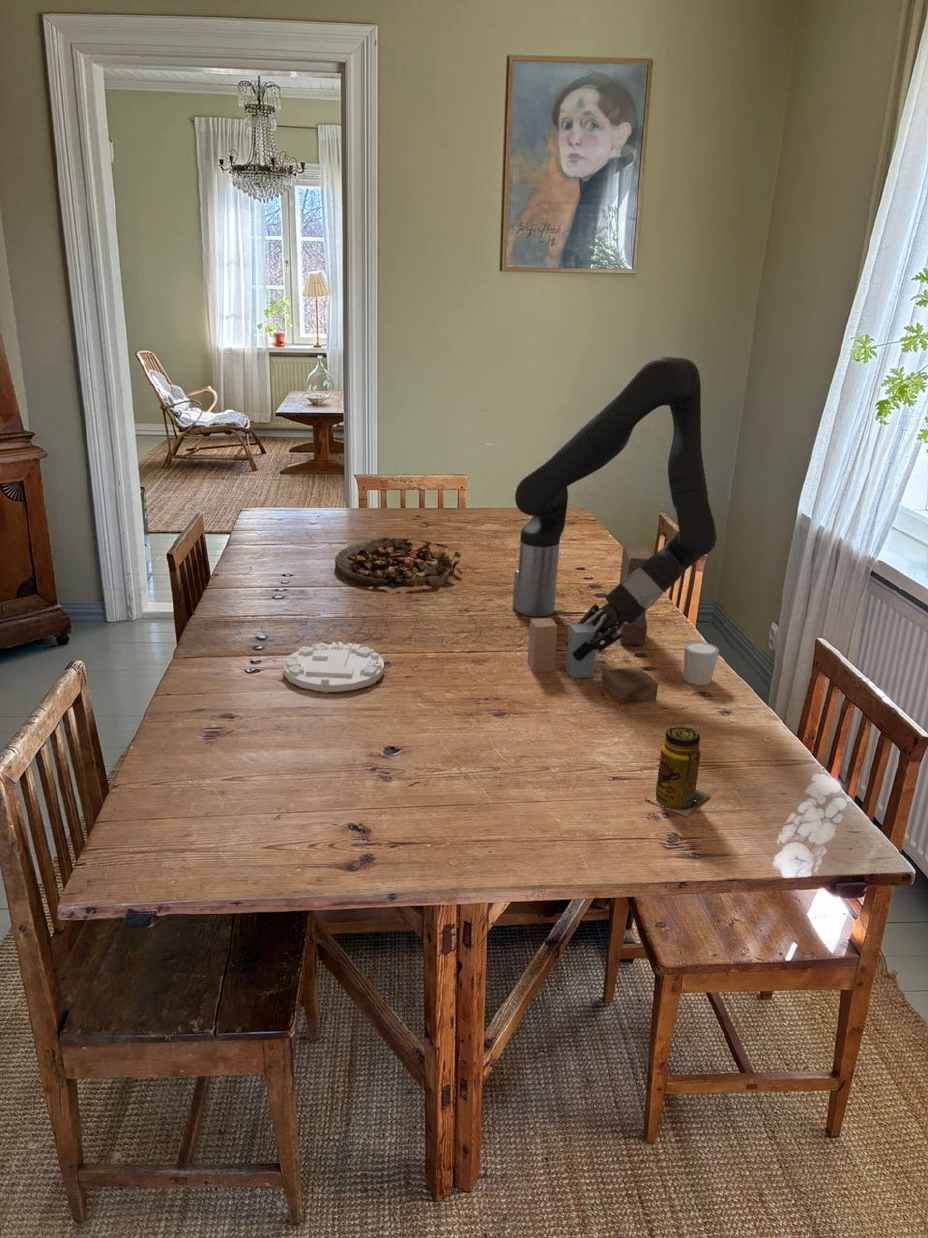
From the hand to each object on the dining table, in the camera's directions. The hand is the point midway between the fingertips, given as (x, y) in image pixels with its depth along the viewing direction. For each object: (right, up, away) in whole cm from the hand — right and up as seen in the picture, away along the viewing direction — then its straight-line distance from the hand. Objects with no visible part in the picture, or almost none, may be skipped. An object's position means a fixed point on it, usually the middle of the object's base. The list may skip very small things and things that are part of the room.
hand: (572, 652), depth 191 cm
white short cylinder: (+26, -6, +2) cm, 27 cm away
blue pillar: (+2, -4, +2) cm, 5 cm away
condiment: (+12, -22, -41) cm, 48 cm away
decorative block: (+16, +3, +23) cm, 28 cm away
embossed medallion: (-48, -4, -1) cm, 48 cm away
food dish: (-40, +20, +62) cm, 76 cm away
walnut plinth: (+10, -8, -6) cm, 14 cm away
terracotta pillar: (-6, -3, +5) cm, 8 cm away
